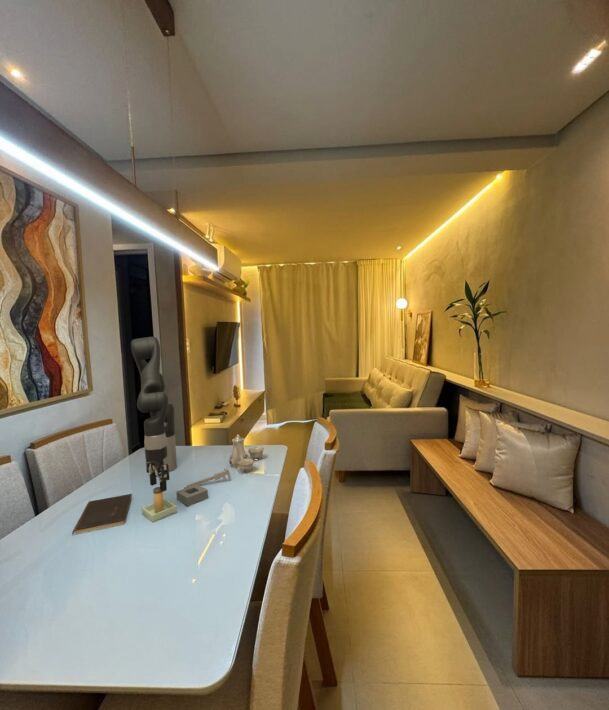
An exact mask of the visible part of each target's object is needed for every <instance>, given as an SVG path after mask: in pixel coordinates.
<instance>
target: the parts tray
mask: <svg viewBox="0 0 609 710" xmlns="http://www.w3.org/2000/svg"><path fill="white" fill-rule="evenodd" d="M163 502H164V511H161V512H159V513H156V514H155V507H154V503H151V504H149V505H146V506H144V507H141V515H142V516H144V517H145V518H146V519H147V520H149V521H150V522H151V523H155V522H158V521H160V520H162V519H165V518H167V517H169V516H172V515H176V514H177V513H178V506H177V505H176V504H174V503H172V502H171V501H169V500H168V499H167V498H165V499H164V498H163Z"/></svg>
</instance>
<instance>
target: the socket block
mask: <svg viewBox="0 0 609 710" xmlns="http://www.w3.org/2000/svg"><path fill="white" fill-rule="evenodd" d="M175 492H176V500H177V501H178V502H179V503H180V504H183V505H184V506H185V507H190V506H193V505H195V504H198V503H200V502H202V501H205V500H208V499H209V490H208V489H207V488H205V487H203V486H201V485H197V484H196V485H193V486H190V487H187V488H185V489H184V488H182V489H180V490H177V491H175Z"/></svg>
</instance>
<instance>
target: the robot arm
mask: <svg viewBox="0 0 609 710" xmlns="http://www.w3.org/2000/svg"><path fill="white" fill-rule="evenodd" d="M160 345H161V344H160V341H159V339H158V338H157V337H156V336H148V337H140V338H134V339H132V340H131V342H130V350H131V353H132V356H133V358H134V361H135V363H136V367H137V369H138V372H139V375H140V392H139V394H138V397H137V400H136V401H137V402H136V406H137V409H138V411H140V413H144V414H145V413H149V415H150V417H149V418H146V419H145V420H144V421H143V429H144V431H143V432H144V455H145V456H144V457H145V458H144V459H145V462H146V464H145V467H146V474H148V476H149V482H150V483H149V484H150V486H152V487H153V486H155V485H157V484H158V483H157V481H158V480H159V487H160V491H161V492H163V493H164V492H166V491H167V490H168V487H167V485H168V484H167V482H168V481H169V480H170V472H171V471H174V470H176V469H177V466H178V465H177V448H176V433H175V430H176V429H175V407H174V405H173V404H171V403H169V397H168V395H167V393H166V392H165V389H166V385H165V380H164V377H163V375H162V373H161V372H160V369H161V346H160ZM148 359H150V360H149V361H148V362H147V361H146V360H148ZM165 424H166V425H165ZM157 478H158V480H157Z"/></svg>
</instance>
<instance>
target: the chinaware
mask: <svg viewBox="0 0 609 710" xmlns="http://www.w3.org/2000/svg"><path fill="white" fill-rule="evenodd" d="M231 442H232V450H231V451H232V452H231V454H230V456H229V457H228V462H229V464H230V467H231V468H233V469H237V472H238V474H240V473H241V474H243V473H244V474H249V473H250V471H251V470H252V468H253V466H254V463H255V462H256V460H253V459H258V458H259V459H261V457H262V456H263V453H264V450H265V448H264V447H259V446H256V447H254V448H251V447H250V448H249V449H248V451H247V452H246V449H245V444H244V443H245V437H241V435H240V434H236V436H235V437H234V438H232V439H231ZM247 453H248V454H249V455H248V454H247ZM249 456H250V457H251V458H250V457H249ZM239 470H240V471H239ZM248 472H249V473H248Z"/></svg>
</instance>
